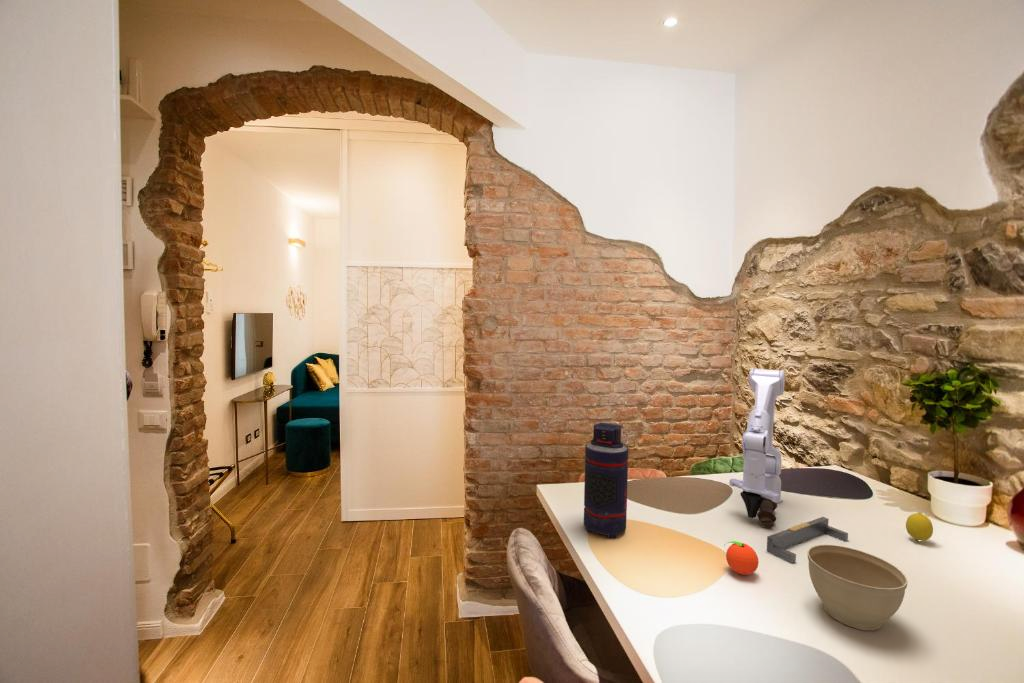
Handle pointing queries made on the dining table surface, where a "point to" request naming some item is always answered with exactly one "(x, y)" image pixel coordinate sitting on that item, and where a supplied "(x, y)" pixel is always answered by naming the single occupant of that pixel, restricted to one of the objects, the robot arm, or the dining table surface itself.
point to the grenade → (606, 481)
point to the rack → (800, 537)
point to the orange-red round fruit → (742, 558)
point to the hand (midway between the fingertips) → (752, 516)
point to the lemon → (919, 526)
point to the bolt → (767, 513)
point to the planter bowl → (856, 585)
